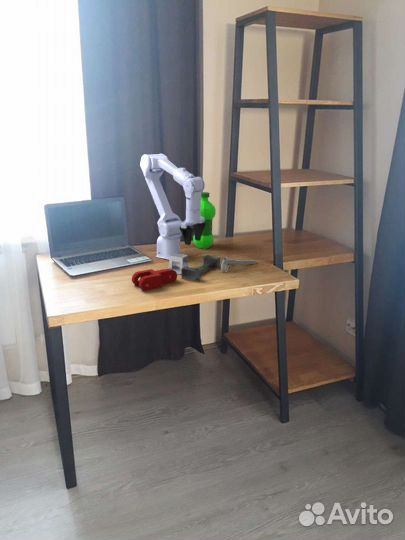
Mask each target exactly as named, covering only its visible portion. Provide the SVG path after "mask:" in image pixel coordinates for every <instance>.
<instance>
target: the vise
mask: <svg viewBox="0 0 405 540" xmlns="http://www.w3.org/2000/svg"><path fill="white" fill-rule="evenodd" d="M202 260H203V262H202V263H203V264H202V265H200V266H198V267H197V268H196V267H193V266H191V267H187V266H185V267H183V268H182V274H181V275H180V276H181V278H180V279H182V280H186V281H191V282H197V281H199V280H200V276H201V275H203V274H204V273H207V272H208V271H209V270H211V269H219V268H221V257H220V256H216V255H215V256H214V255H209V254H206V255H204V256H203V259H202ZM192 267H193V268H192Z"/></svg>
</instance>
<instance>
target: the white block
mask: <svg viewBox="0 0 405 540" xmlns="http://www.w3.org/2000/svg"><path fill="white" fill-rule="evenodd" d="M178 263H179V264H180V271H182V268H183V267H185V266H187V267H188V266H189V265H188V264H189V256H188V254H183V253H180V254H178V253H173V254H171V255H169V261H168V267H169V268H170V269H173V268H175V267H177V264H178Z"/></svg>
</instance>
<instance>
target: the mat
mask: <svg viewBox="0 0 405 540" xmlns="http://www.w3.org/2000/svg"><path fill="white" fill-rule="evenodd" d="M188 267H192V268H194V267H193V266H190V265H188ZM167 268H169V266H168V267H166V268H165V269H167ZM172 270H174V271H176V272H177V276H181V275H182V271H180V263H177V267H175V268H173V269H172Z"/></svg>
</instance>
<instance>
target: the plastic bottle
mask: <svg viewBox="0 0 405 540" xmlns="http://www.w3.org/2000/svg"><path fill="white" fill-rule="evenodd" d="M209 198H210V192H208V191H202V192H201V217H205V220H204V222H203V223H206V226H205V228H204V230H203V232H202V236H201V240H200V241H197V240H195V235H194V234H193V236H192V238H193V239H192V240H193V241H192V242H193V245H195V247H197V248H198V249H201V248H202V249H201V250H203V249H204V250H205V249H207V250H208V249H209V248H210V247H211V246H212V245H213V244H214V243H215V242H214V241H215V237H214V234H213V219H214V218H215V216H216V210H217V209H216V207H215V205H214V204H213V203H212V202H211V201H210V200H209Z"/></svg>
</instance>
